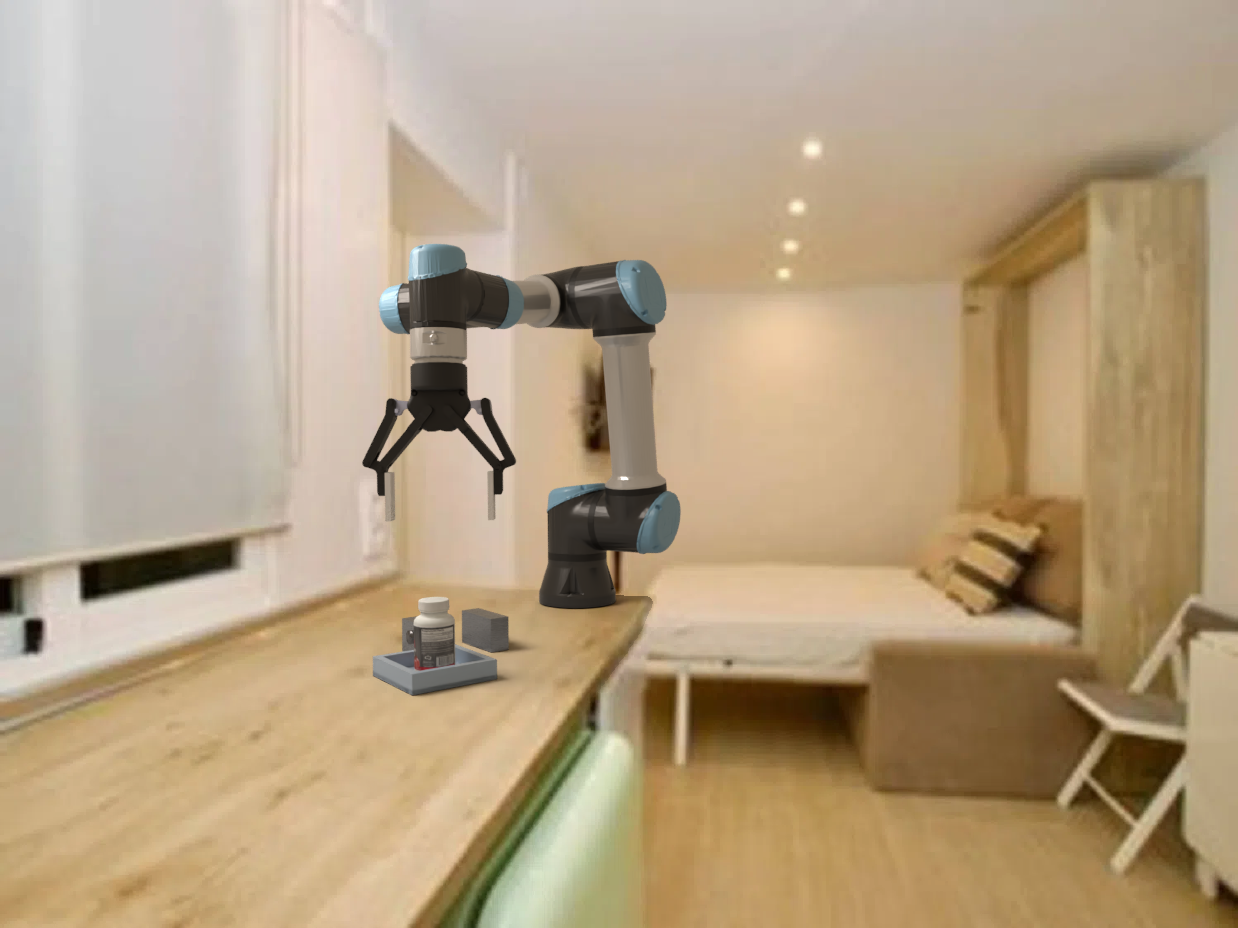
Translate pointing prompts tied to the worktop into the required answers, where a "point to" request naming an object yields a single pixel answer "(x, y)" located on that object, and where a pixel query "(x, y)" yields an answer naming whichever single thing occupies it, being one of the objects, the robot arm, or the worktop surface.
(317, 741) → the worktop surface
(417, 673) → the tray
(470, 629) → the grey twin blocks
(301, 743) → the worktop surface
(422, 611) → the pill bottle
